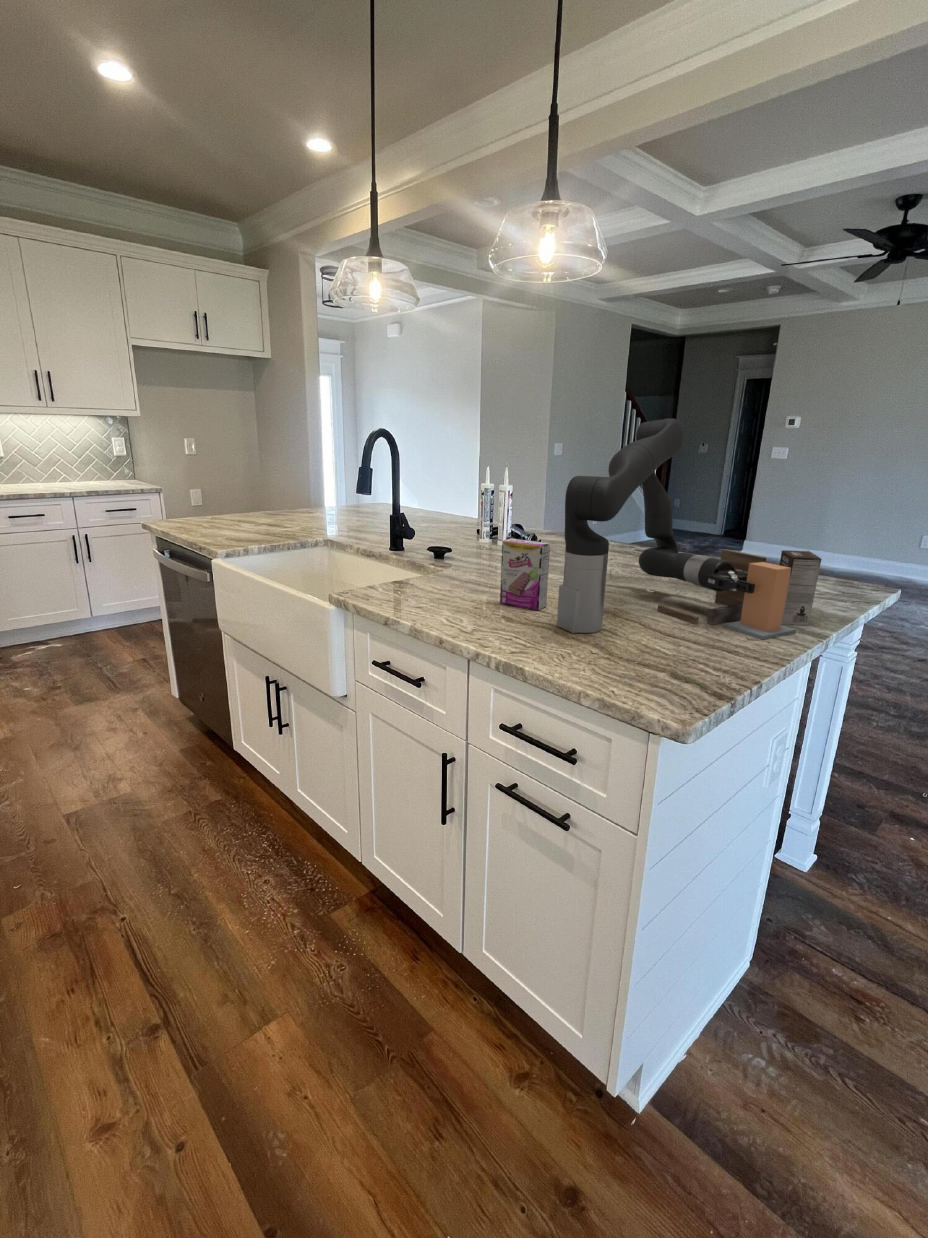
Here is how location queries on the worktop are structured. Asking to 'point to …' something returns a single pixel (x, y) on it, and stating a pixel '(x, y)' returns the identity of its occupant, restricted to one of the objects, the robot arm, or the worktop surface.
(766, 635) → the mat
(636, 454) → the robot arm
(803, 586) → the coffee box
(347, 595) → the worktop surface
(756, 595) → the orange block
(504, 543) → the candy bar box
